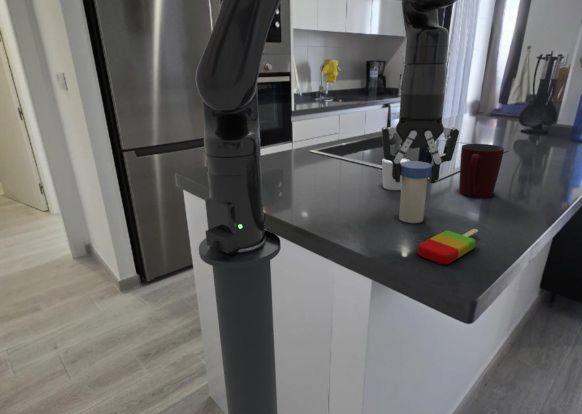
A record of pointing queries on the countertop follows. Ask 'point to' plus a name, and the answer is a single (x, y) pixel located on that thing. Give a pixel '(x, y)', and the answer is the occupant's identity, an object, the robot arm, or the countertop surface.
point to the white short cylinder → (390, 175)
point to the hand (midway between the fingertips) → (414, 181)
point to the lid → (416, 169)
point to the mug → (479, 169)
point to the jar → (412, 199)
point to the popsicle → (447, 246)
